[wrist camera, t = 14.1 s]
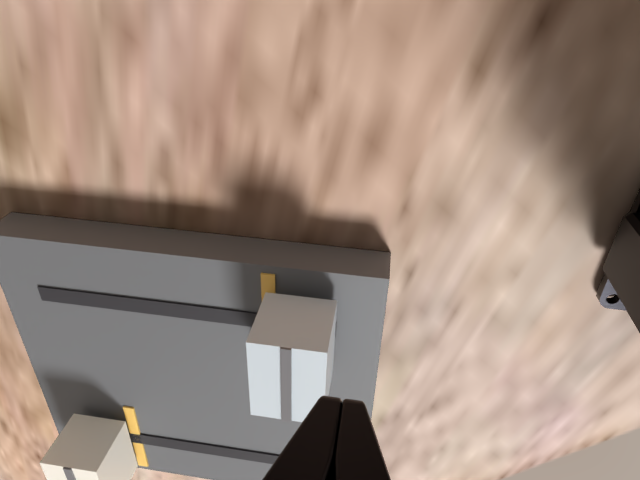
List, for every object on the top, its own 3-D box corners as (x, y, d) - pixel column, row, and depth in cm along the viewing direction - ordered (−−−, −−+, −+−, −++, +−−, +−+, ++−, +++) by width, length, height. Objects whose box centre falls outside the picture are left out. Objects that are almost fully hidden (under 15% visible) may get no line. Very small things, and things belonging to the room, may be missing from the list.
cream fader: (125, 421, 27) (95, 473, 24) (137, 466, 29) (111, 518, 26) (73, 413, 27) (38, 464, 24) (89, 458, 29) (58, 509, 27)
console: (390, 252, 22) (389, 280, 20) (362, 471, 30) (360, 505, 28) (11, 212, 24) (-22, 234, 22) (85, 428, 32) (66, 457, 30)
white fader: (337, 300, 20) (327, 354, 18) (332, 369, 22) (323, 427, 20) (265, 292, 21) (245, 344, 18) (268, 361, 23) (250, 416, 20)
